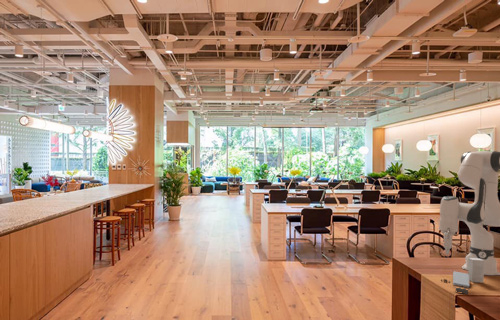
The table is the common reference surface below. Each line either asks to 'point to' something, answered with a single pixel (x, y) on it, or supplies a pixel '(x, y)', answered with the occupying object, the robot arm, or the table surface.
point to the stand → (445, 280)
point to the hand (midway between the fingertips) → (447, 253)
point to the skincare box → (476, 270)
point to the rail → (462, 290)
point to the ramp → (460, 279)
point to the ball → (446, 254)
